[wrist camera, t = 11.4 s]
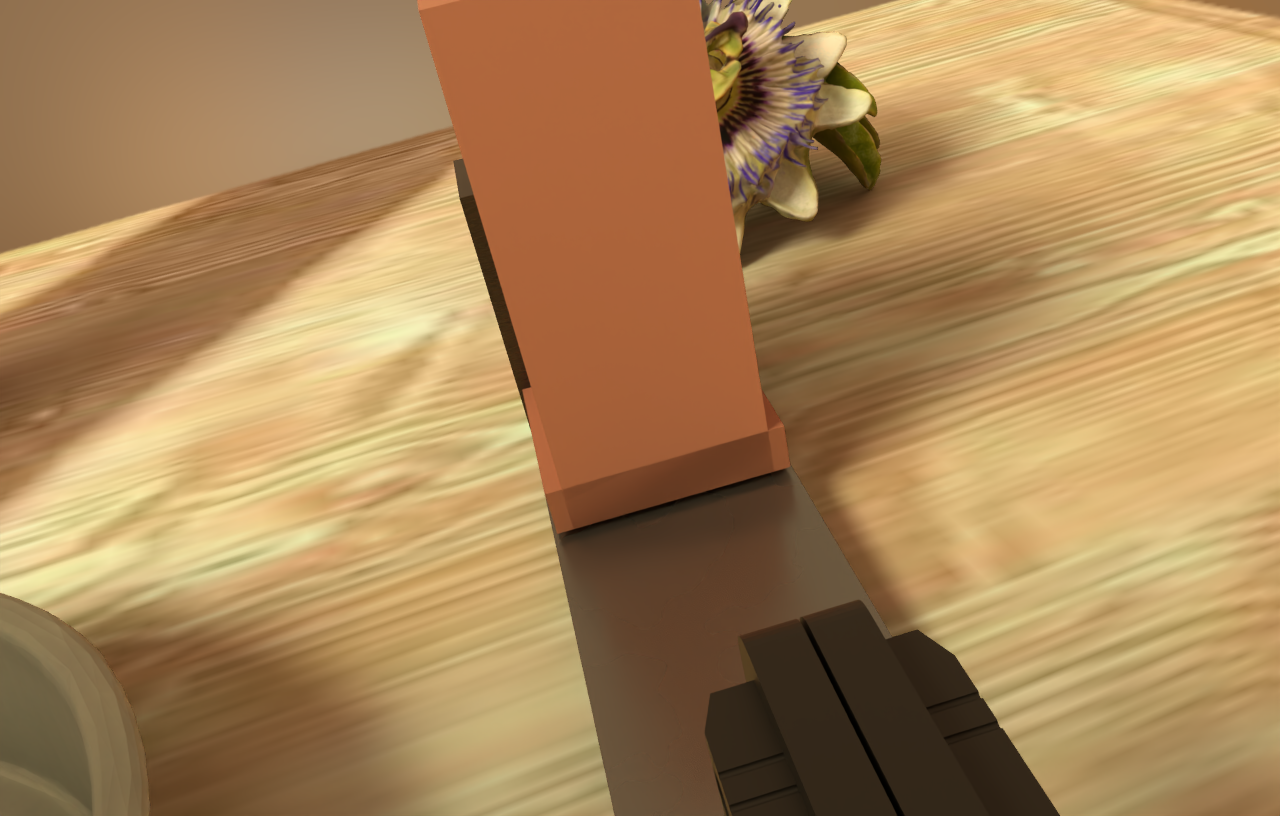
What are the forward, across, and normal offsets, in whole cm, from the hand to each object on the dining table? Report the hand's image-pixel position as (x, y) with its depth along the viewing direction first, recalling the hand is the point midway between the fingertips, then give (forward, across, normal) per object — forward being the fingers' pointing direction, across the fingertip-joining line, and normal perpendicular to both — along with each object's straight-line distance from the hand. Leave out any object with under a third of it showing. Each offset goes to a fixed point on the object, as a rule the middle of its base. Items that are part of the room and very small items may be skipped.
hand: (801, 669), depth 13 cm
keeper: (+14, 0, +6) cm, 15 cm away
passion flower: (+29, -6, +7) cm, 31 cm away
